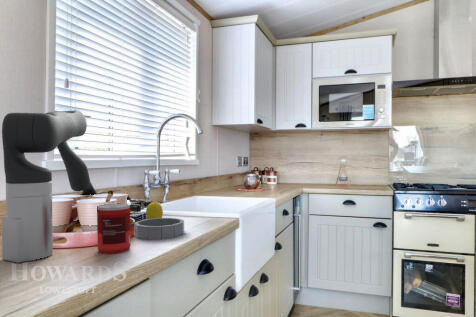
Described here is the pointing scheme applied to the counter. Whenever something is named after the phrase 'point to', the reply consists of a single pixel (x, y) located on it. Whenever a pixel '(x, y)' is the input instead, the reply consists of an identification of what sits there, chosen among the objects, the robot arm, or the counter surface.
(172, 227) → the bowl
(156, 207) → the lemon
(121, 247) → the canned food
